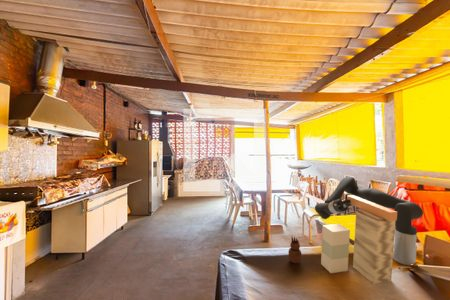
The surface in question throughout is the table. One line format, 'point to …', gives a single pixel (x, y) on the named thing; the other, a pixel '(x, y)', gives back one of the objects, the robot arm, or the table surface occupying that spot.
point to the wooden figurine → (294, 251)
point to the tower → (335, 248)
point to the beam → (373, 208)
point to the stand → (373, 246)
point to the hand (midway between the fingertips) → (356, 200)
